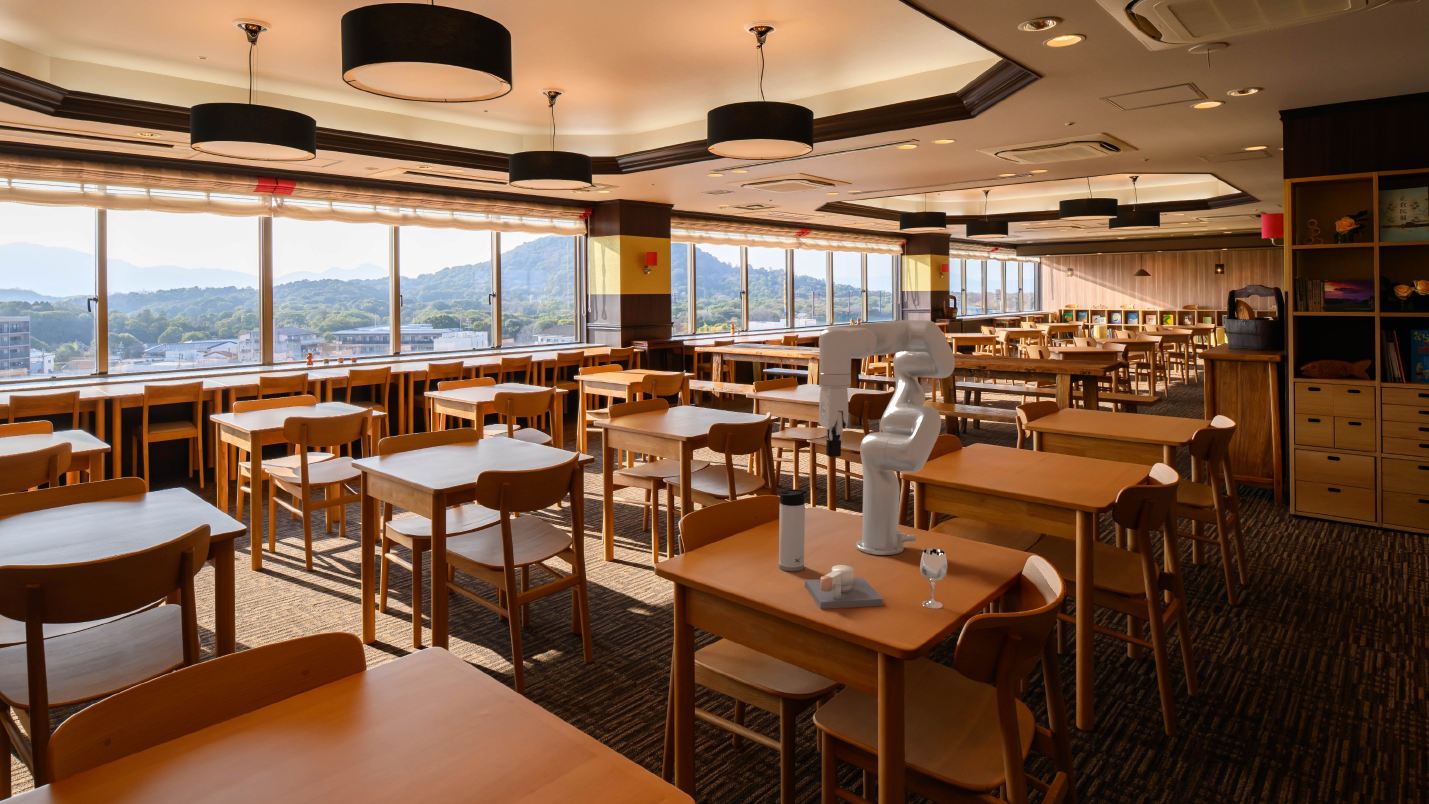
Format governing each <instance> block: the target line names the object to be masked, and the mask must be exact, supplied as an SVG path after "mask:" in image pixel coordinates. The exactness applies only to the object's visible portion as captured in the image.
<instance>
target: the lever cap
mask: <svg viewBox="0 0 1429 804" xmlns="http://www.w3.org/2000/svg"><path fill="white" fill-rule="evenodd" d="M854 577H855V568H854V567H852V566H851V565H846V564H845V565H844V564H837V565H833V566H832V567H831V572H828V573H827V574H825V575H822V576H820V579H821V586H820V590H821V591H824V592H829V591H831V590H832V589H834V584H840V585H851V584H853V583H854Z"/></svg>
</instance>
